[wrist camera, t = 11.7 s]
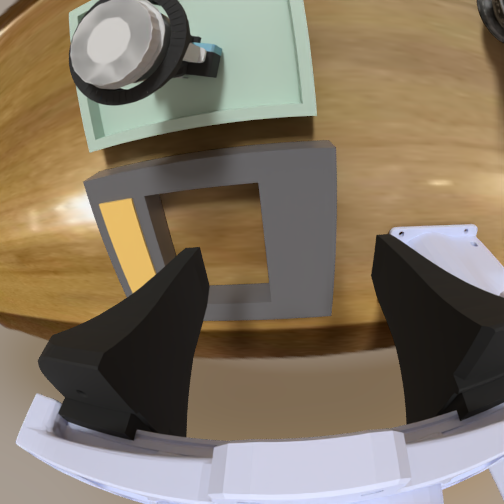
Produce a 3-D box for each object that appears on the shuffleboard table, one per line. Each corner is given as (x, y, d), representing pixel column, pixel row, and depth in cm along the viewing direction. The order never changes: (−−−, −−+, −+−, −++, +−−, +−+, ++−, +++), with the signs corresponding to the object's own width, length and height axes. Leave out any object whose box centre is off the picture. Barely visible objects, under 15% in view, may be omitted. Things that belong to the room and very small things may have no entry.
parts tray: (291, -38, 11) (293, -49, 9) (312, 112, 17) (316, 115, 16) (83, 15, 13) (68, 12, 11) (103, 146, 19) (89, 152, 18)
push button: (128, 91, 17) (29, 111, 8) (140, 23, 14) (45, -2, 5) (218, 99, 17) (163, 112, 8) (233, 26, 14) (192, -28, 6)
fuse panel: (328, 140, 18) (336, 148, 16) (327, 296, 26) (331, 317, 23) (99, 171, 21) (81, 182, 18) (145, 302, 28) (136, 320, 26)
